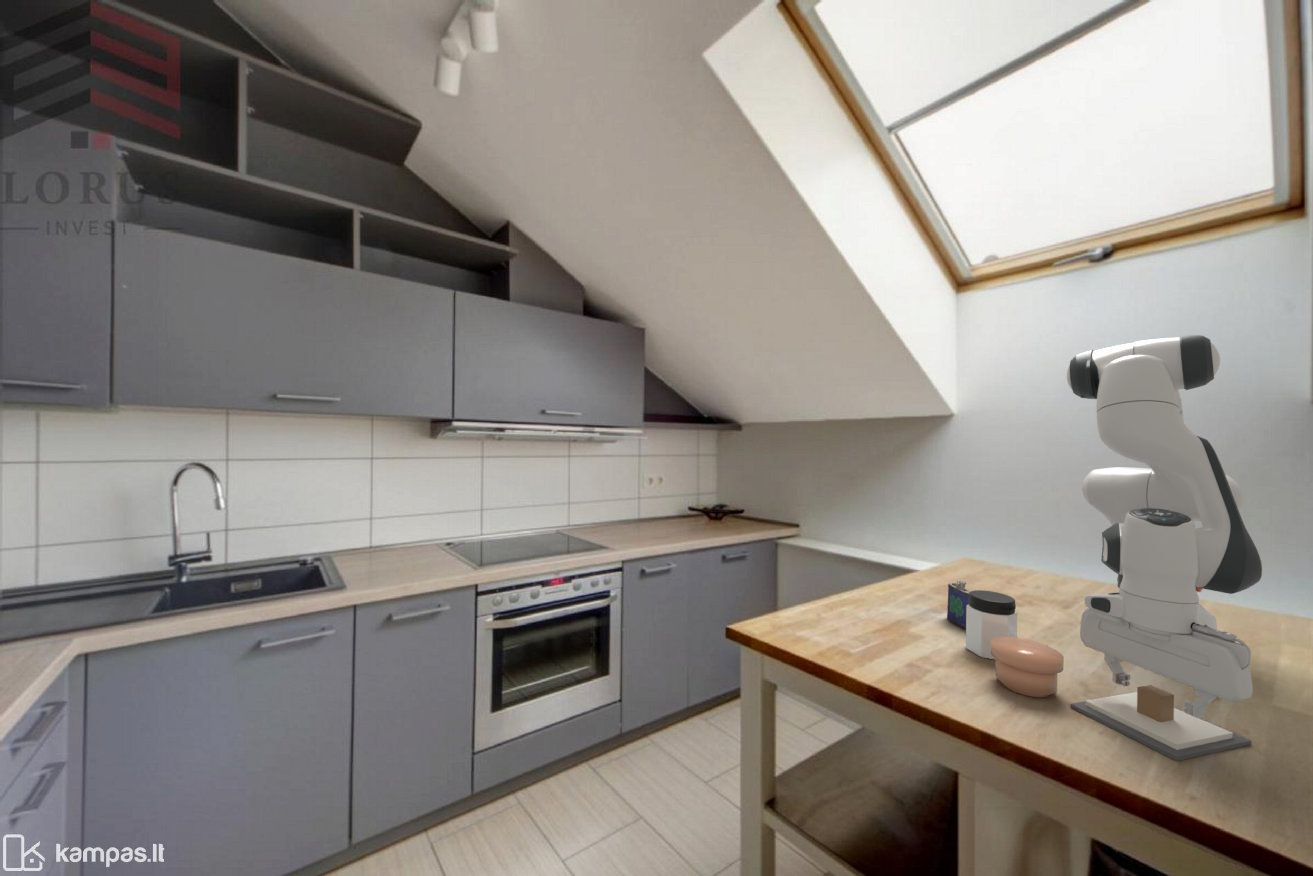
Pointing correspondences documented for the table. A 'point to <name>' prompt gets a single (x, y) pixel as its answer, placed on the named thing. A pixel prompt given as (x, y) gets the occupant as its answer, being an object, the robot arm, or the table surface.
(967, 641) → the jar
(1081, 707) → the mat
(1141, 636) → the robot arm
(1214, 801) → the table surface
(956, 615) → the flask
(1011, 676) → the pink lidded container
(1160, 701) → the lid
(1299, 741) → the table surface
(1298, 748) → the table surface
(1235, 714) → the table surface
